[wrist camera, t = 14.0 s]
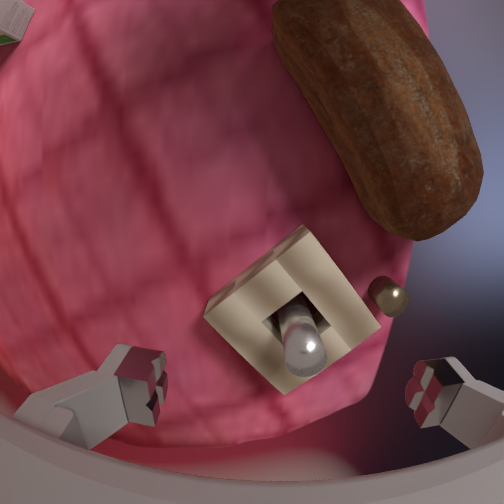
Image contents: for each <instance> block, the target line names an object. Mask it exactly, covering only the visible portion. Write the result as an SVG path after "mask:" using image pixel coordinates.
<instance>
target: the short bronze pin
mask: <svg viewBox="0 0 504 504" xmlns="http://www.w3.org/2000/svg"><path fill="white" fill-rule="evenodd" d="M368 293H369V297H370V298H371V300H372V301H373V302H374V303H375V304H376V305H377V306H378V307H379V308H380V310H381V311H382V312H383V313H384V314H385V315H386V316H388V317H396V316H399V315H400V314H402V313H403V312H404V311H405V309H406V308H407V306H408V303H409V296H408V294H407V292H406V291H405V290H404V289H403V288H402V287H400V286H399V285H398V284H397V283H395V282H394V281H393V280H392V279H390V278H389V277H387V276H379V277H377V278H375V279H374V280H373V281H372V282H371V284H370V286H369V290H368Z"/></svg>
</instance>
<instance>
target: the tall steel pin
mask: <svg viewBox="0 0 504 504" xmlns="http://www.w3.org/2000/svg"><path fill="white" fill-rule="evenodd" d="M277 313H278V319H279V325H280V330H281V336H282V342H283V347H284V353H285V359H286V364H287V368H288V370H289V371H290V372H291V373H292V374H294V375H296V376H299V377H309V376H313V375H315V374H317V373H319V372H320V371H321V370H322V369H323V368H324V367H325V365H326V363H327V359H328V356H327V352H326V350H325V347H324V345H323V342H322V340H321V337H320V335H319V332H318V330H317V327H316V325H315V323H314V320H313V318H312V315H311V313H310V310H309V308H308V306H307V303H306V301H305V299H304V297H303V296H302V295H301V294H298V295H296V296H295V297H294V298H292V299H291V300H290V301H288V302H287V303H286V304H285V305H283V306H282V307H281V308H279V309H278V310H277Z"/></svg>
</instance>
